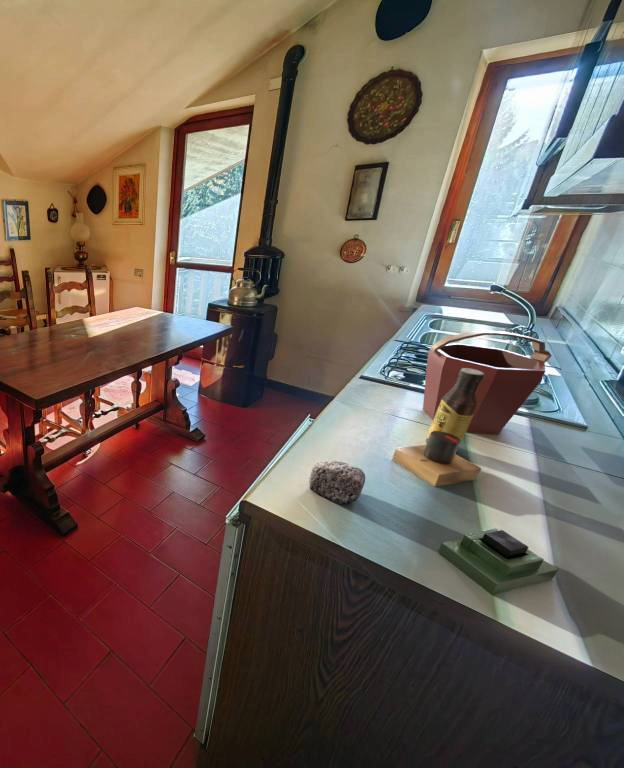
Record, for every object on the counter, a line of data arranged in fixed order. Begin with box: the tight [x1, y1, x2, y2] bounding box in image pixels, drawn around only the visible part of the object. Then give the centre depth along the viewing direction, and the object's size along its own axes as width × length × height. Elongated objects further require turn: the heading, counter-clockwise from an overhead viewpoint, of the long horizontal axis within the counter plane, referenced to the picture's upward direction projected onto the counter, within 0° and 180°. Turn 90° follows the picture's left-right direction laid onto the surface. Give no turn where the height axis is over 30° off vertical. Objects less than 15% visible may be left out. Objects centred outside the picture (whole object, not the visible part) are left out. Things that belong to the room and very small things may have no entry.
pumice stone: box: [308, 460, 366, 505], centre depth 75 cm, size 10×8×10 cm
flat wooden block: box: [391, 444, 482, 487], centre depth 84 cm, size 11×10×3 cm
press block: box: [437, 528, 559, 596], centre depth 60 cm, size 12×8×4 cm, turn 103°
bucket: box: [422, 329, 552, 435], centre depth 102 cm, size 24×22×25 cm
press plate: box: [481, 529, 530, 559], centre depth 59 cm, size 4×4×2 cm
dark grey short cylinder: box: [423, 431, 462, 464], centre depth 83 cm, size 5×5×6 cm
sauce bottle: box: [425, 368, 484, 448], centre depth 90 cm, size 6×6×20 cm
